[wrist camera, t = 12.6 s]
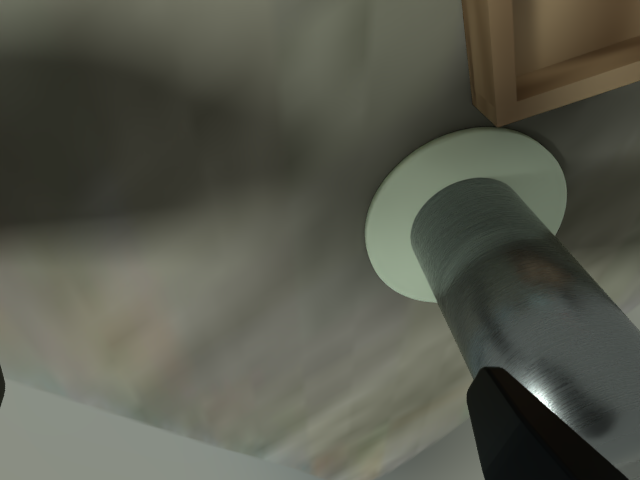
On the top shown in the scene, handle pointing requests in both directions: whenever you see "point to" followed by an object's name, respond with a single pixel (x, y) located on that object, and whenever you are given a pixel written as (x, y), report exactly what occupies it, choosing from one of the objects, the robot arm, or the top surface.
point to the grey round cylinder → (532, 312)
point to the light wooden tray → (548, 53)
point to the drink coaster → (443, 170)
